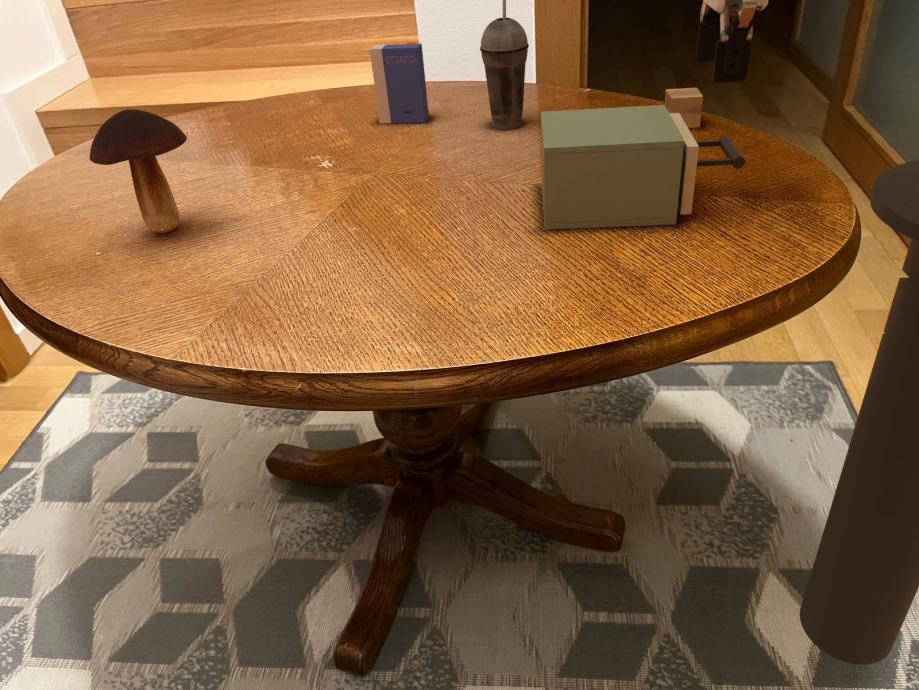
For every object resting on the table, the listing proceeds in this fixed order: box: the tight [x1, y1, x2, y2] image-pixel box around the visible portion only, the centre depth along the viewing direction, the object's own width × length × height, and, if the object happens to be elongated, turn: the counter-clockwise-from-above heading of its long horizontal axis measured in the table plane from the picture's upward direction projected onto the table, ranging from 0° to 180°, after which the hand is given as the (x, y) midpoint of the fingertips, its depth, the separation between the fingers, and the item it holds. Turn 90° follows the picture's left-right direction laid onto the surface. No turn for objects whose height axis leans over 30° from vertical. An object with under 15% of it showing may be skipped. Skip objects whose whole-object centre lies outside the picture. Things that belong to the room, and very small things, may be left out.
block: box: [664, 87, 704, 129], centre depth 108 cm, size 4×4×4 cm
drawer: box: [670, 113, 746, 215], centre depth 84 cm, size 19×11×8 cm, turn 86°
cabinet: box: [540, 104, 684, 231], centre depth 85 cm, size 15×13×10 cm
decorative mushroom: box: [88, 108, 188, 234], centre depth 87 cm, size 11×11×15 cm
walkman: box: [369, 41, 430, 124], centre depth 117 cm, size 8×3×12 cm, turn 79°
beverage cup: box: [479, 0, 530, 130], centre depth 109 cm, size 7×7×20 cm
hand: (719, 69), depth 78 cm, fingers open, 7 cm apart
